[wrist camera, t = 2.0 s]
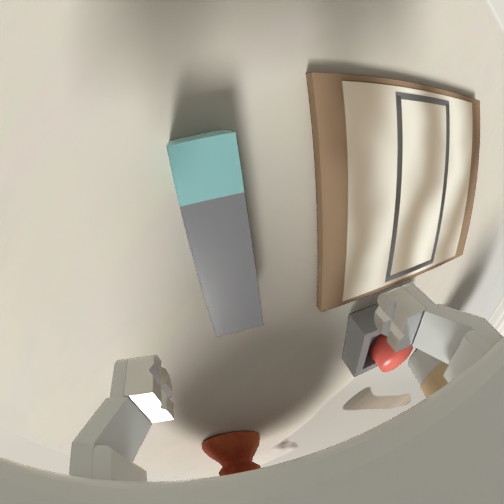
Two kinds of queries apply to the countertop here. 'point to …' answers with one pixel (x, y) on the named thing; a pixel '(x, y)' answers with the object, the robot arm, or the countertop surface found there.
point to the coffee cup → (428, 371)
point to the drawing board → (388, 180)
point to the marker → (217, 227)
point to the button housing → (360, 341)
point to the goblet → (233, 451)
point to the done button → (387, 354)
